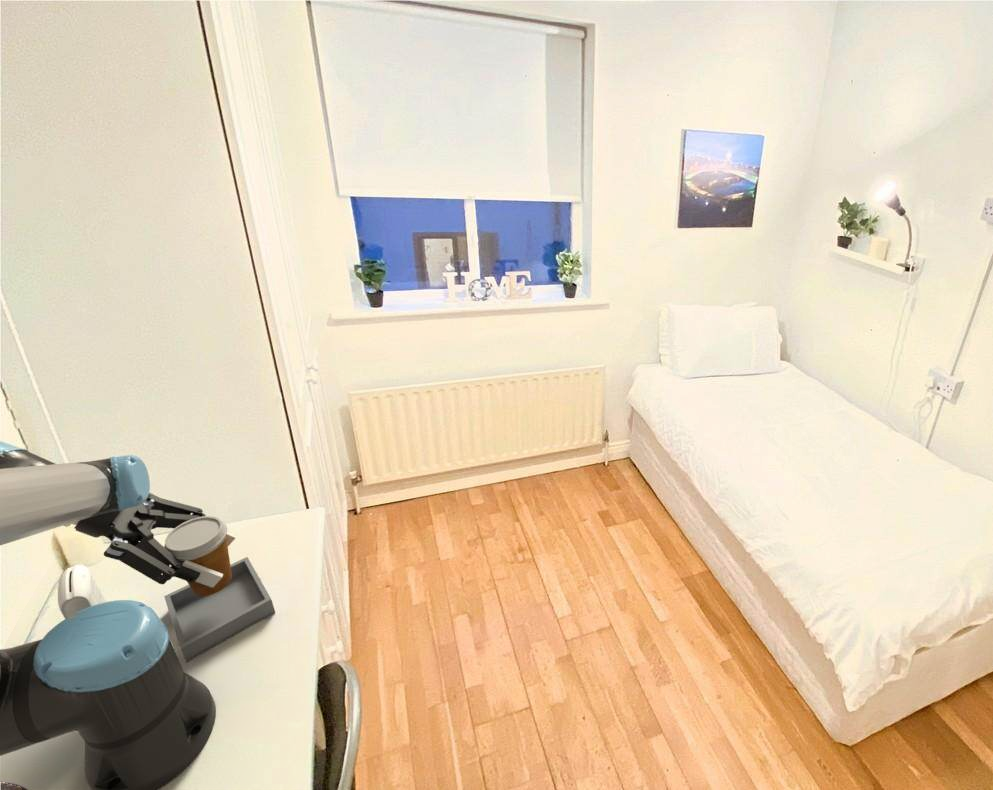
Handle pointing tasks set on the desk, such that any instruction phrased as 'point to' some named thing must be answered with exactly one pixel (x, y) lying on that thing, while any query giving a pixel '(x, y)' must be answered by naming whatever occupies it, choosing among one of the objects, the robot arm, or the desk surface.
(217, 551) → the disposable coffee cup
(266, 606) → the charcoal tray
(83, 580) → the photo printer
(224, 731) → the desk surface
